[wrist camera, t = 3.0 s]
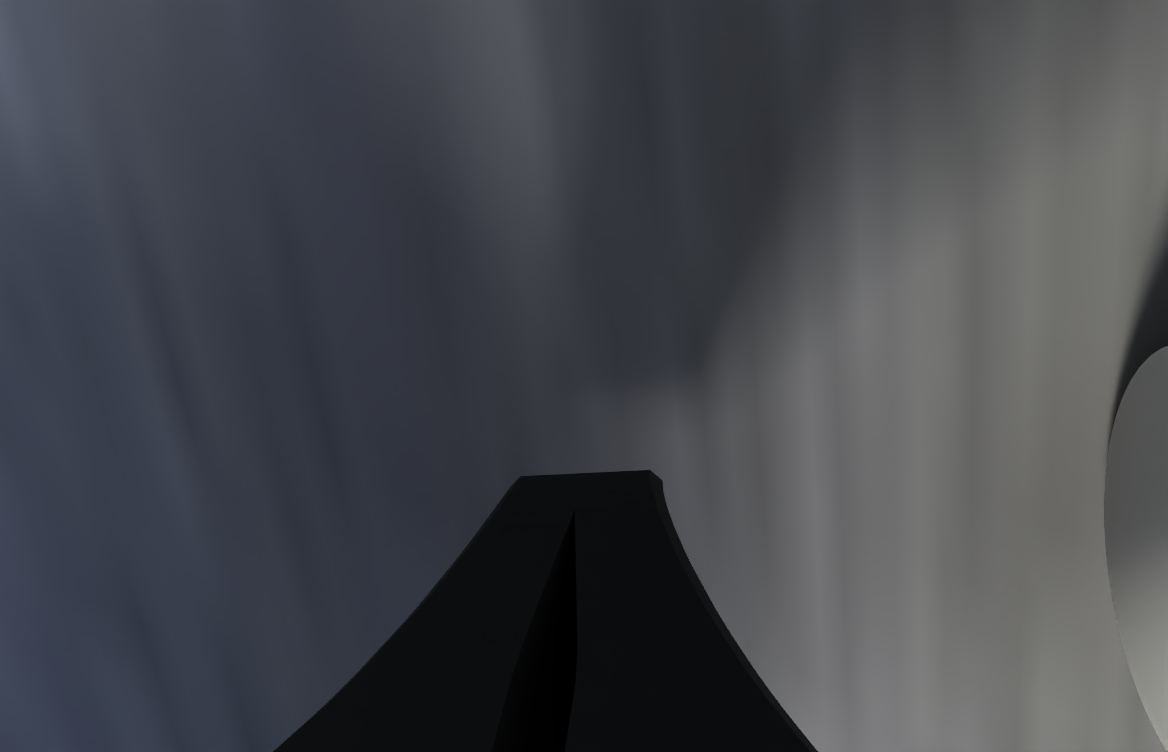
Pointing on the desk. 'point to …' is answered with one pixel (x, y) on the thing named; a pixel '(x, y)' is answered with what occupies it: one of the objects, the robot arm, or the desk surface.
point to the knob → (1141, 532)
